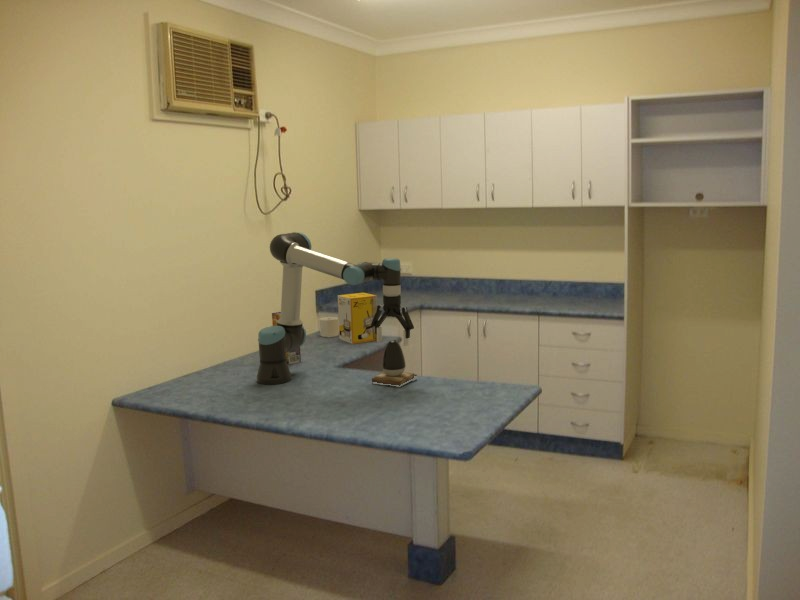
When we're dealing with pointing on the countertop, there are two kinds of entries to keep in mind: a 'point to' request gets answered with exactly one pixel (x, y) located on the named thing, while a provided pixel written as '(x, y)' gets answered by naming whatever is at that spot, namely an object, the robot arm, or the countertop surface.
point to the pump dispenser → (393, 359)
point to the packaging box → (357, 317)
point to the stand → (393, 378)
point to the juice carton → (291, 355)
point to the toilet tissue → (329, 327)
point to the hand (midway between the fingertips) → (392, 343)
